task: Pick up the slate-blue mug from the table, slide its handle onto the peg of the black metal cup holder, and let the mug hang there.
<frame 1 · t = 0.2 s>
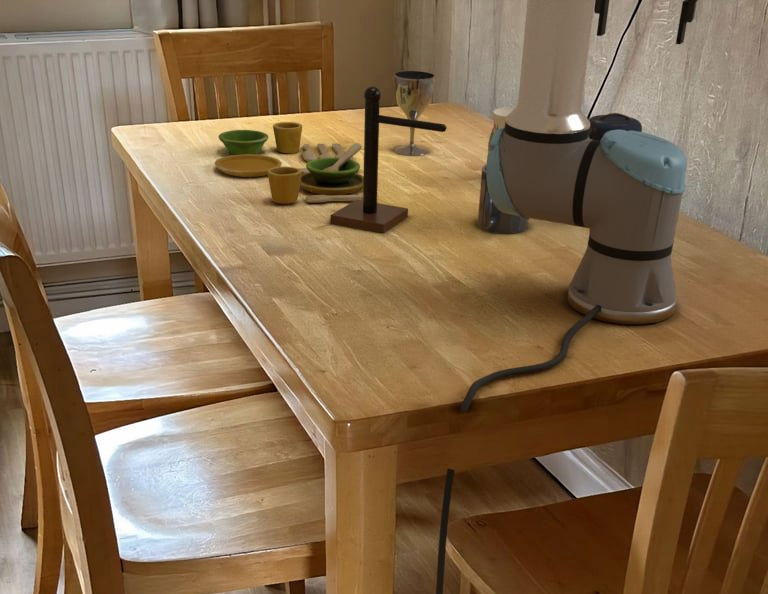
hand: (639, 39, 180), 28 cm above the table, tool pointing down, fingers open, 13 cm apart
canister: (600, 220, 186), on the table
mug: (502, 225, 181), on the table
tableware set: (288, 174, 203), on the table
cup holder: (369, 220, 181), on the table
wine glass: (411, 151, 220), on the table
pitcher: (511, 183, 203), on the table
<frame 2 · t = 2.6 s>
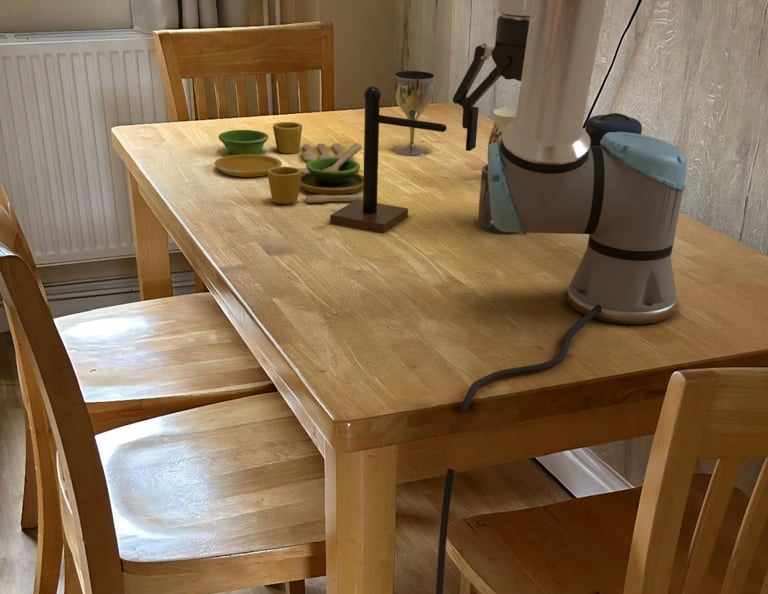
hand: (508, 155, 175), 12 cm above the table, tool pointing down, fingers open, 13 cm apart
nothing on the table moved.
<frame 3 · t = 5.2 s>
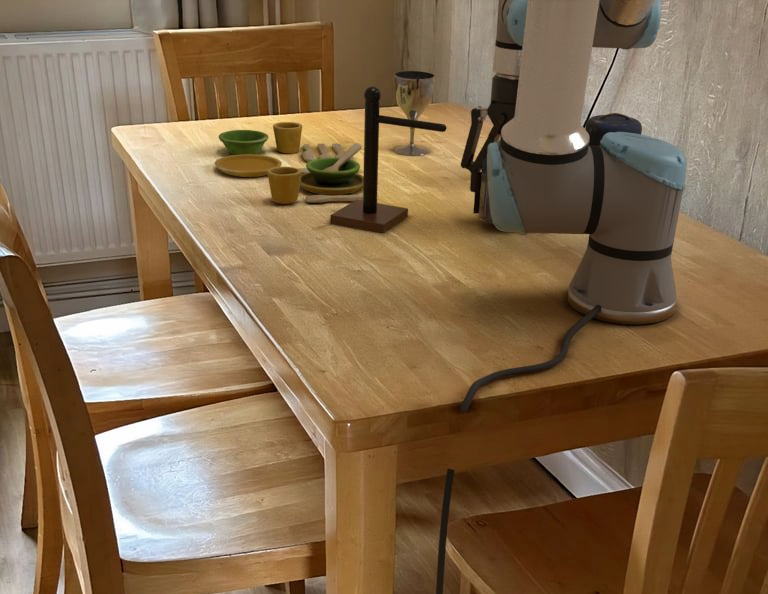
hand: (503, 215, 180), 2 cm above the table, tool pointing down, fingers closed on mug, 9 cm apart
mug: (503, 217, 180), point 2 cm above the table, touching gripper
everything else where it was.
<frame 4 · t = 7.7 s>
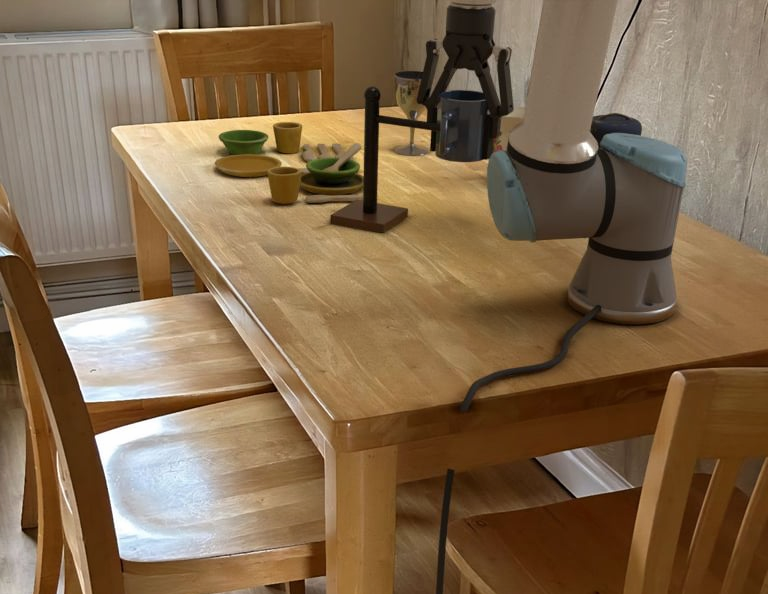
hand: (461, 153, 175), 12 cm above the table, tool pointing down, fingers closed on mug, 9 cm apart
mug: (460, 155, 175), point 12 cm above the table, touching gripper
everything else where it was.
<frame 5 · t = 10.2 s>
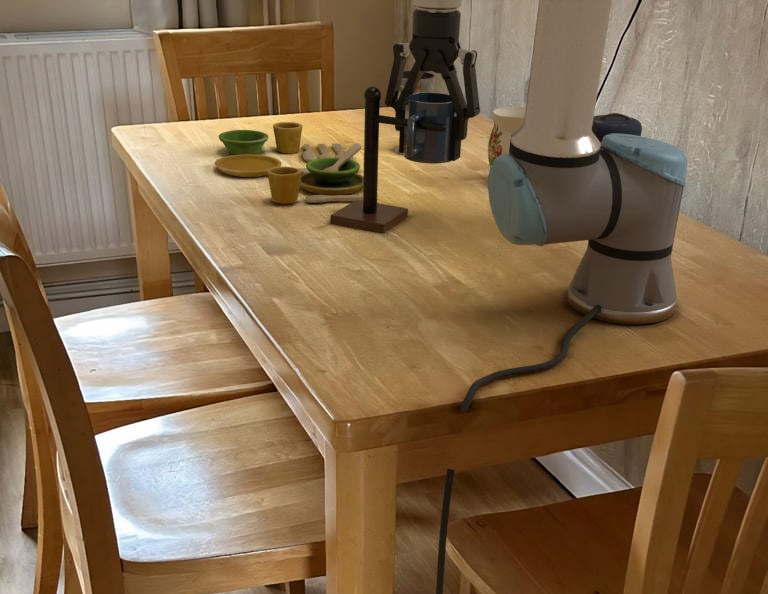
hand: (429, 155, 177), 11 cm above the table, tool pointing down, fingers closed on mug, 9 cm apart
mug: (429, 156, 178), point 11 cm above the table, touching cup holder, gripper
everything else where it was.
when the fingers open (11 cm above the table, at t = 10.3 s): mug drops 2 cm, resting on cup holder.
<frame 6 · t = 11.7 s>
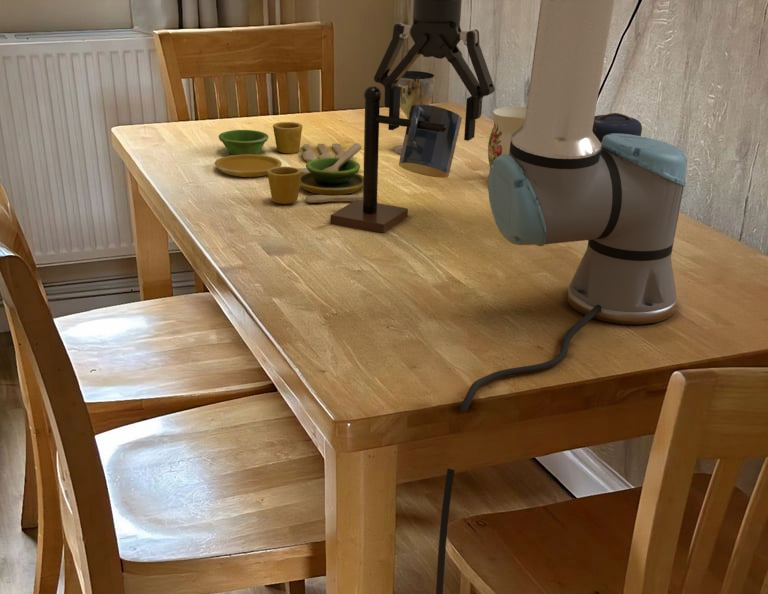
hand: (431, 133, 175), 14 cm above the table, tool pointing down, fingers open, 13 cm apart
mug: (423, 170, 177), point 9 cm above the table, tilted 28°, touching cup holder
everything else where it was.
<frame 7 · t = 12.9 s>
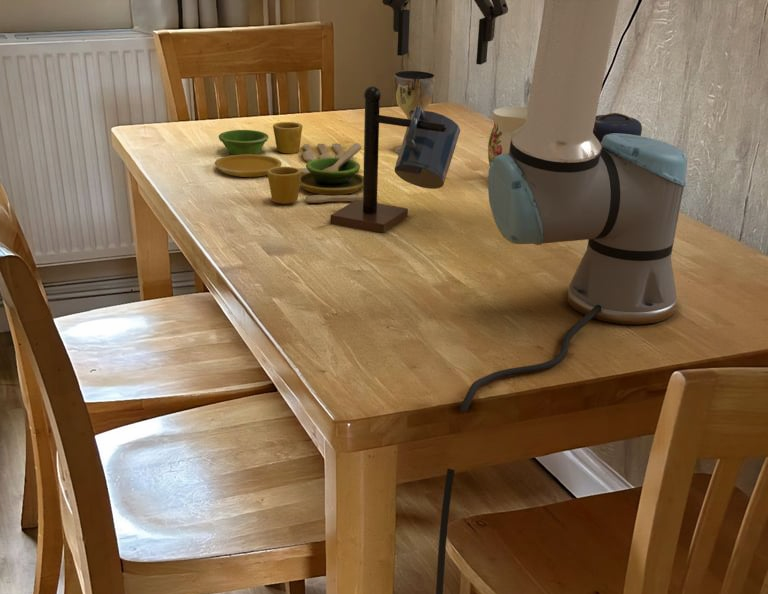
hand: (441, 58, 169), 26 cm above the table, tool pointing down, fingers open, 13 cm apart
mug: (419, 177, 176), point 8 cm above the table, tilted 39°, touching cup holder
everything else where it was.
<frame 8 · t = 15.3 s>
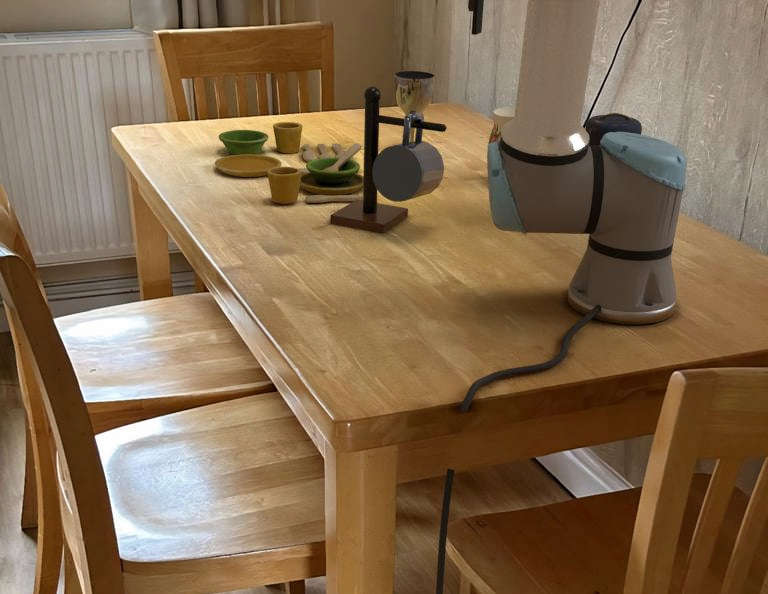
hand: (515, 38, 172), 29 cm above the table, tool pointing down, fingers open, 13 cm apart
mug: (396, 173, 167), point 11 cm above the table, tilted 98°, touching cup holder
everything else where it was.
at the end: mug inside the target area on the cup holder (3.1 cm from its centre), point 8.4 cm above the cup holder's base; mug touching cup holder; the gripper is holding nothing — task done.
